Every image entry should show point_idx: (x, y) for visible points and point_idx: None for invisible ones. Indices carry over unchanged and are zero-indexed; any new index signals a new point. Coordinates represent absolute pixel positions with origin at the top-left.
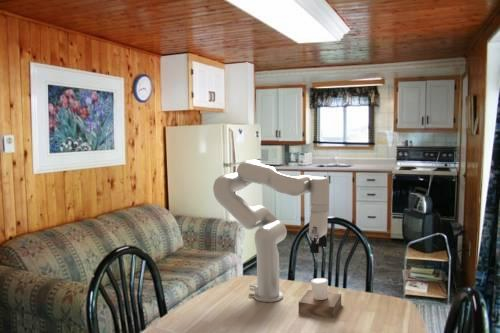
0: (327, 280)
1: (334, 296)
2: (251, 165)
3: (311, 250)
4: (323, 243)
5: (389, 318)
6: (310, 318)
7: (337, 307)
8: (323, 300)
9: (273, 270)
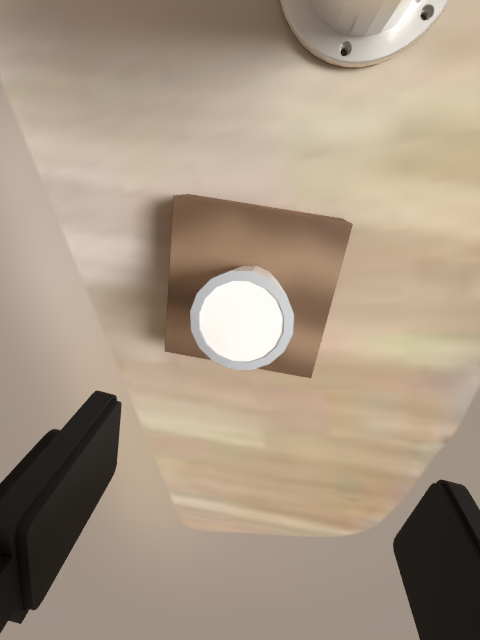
0: (239, 368)
1: None
2: None
3: (84, 414)
4: (423, 574)
5: (223, 476)
6: (152, 250)
7: None
8: None
9: None
